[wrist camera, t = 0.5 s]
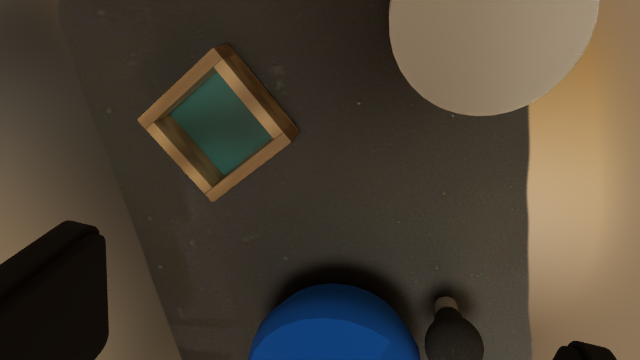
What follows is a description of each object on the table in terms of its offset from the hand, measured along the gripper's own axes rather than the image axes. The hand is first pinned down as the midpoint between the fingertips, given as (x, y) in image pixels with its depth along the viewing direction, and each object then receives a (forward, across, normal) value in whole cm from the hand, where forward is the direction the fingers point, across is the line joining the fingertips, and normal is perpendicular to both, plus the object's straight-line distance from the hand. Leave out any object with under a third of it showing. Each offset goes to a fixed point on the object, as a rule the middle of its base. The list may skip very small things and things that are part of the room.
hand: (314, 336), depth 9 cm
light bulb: (+35, -14, +24) cm, 45 cm away
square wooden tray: (+35, +14, +8) cm, 39 cm away
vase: (+35, -3, +30) cm, 46 cm away
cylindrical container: (+36, -4, -6) cm, 36 cm away
